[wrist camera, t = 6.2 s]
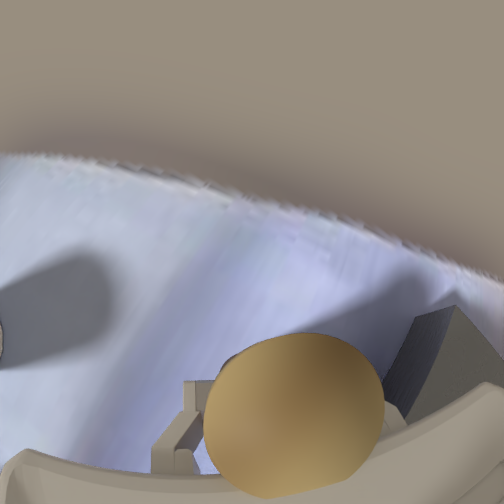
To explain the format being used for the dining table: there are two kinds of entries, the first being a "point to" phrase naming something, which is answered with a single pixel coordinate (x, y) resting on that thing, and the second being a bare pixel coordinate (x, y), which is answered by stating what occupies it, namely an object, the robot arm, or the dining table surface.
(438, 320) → the hitch block
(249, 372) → the brass pin
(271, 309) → the dining table surface
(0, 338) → the white cup
